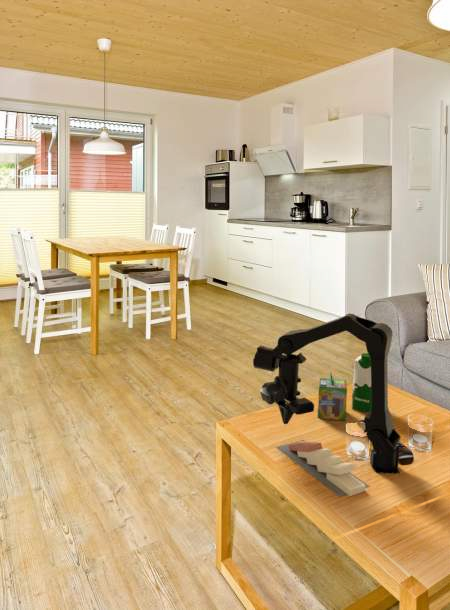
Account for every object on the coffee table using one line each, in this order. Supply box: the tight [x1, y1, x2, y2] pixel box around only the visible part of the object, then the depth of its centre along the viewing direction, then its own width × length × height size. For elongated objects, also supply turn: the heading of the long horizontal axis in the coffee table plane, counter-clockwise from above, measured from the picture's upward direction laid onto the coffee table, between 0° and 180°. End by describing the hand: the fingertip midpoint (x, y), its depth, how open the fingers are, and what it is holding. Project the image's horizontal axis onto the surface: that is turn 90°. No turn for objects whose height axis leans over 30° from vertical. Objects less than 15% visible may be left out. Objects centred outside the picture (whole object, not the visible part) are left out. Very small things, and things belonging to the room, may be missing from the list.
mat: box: [275, 439, 371, 498], centre depth 138 cm, size 28×10×1 cm, turn 29°
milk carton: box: [351, 352, 372, 414], centre depth 175 cm, size 9×9×20 cm
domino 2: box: [297, 447, 333, 459], centre depth 140 cm, size 2×5×9 cm
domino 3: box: [307, 454, 343, 467], centre depth 136 cm, size 2×5×9 cm
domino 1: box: [288, 440, 323, 452], centre depth 144 cm, size 2×5×9 cm
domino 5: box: [326, 472, 366, 497], centre depth 129 cm, size 2×5×9 cm
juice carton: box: [317, 371, 348, 422], centre depth 170 cm, size 9×9×15 cm
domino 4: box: [317, 462, 355, 475], centre depth 132 cm, size 2×5×9 cm
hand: (285, 423), depth 151 cm, fingers closed
